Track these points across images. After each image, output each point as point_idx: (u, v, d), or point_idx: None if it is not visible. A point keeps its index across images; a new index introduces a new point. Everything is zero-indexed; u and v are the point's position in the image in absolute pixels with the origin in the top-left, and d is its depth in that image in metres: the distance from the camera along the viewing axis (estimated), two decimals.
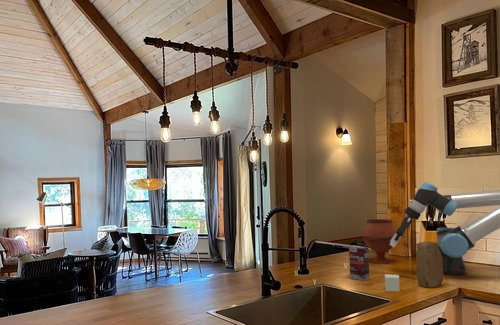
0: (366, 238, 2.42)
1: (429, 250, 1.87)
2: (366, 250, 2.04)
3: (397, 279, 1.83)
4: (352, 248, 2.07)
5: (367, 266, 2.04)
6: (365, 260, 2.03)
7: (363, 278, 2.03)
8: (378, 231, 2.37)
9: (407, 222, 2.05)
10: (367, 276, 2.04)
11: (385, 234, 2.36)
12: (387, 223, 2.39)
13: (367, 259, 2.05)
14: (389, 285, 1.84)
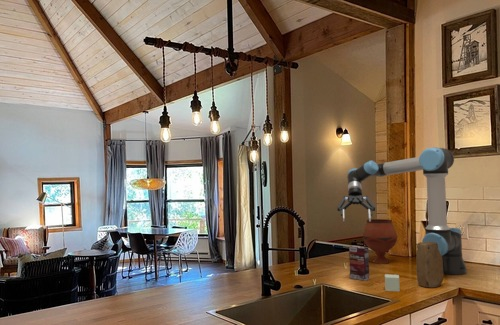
0: (366, 238, 2.42)
1: (429, 250, 1.87)
2: (366, 250, 2.04)
3: (397, 279, 1.83)
4: (352, 248, 2.07)
5: (367, 266, 2.04)
6: (365, 260, 2.03)
7: (363, 278, 2.03)
8: (378, 231, 2.37)
9: None
10: (367, 276, 2.04)
11: (385, 234, 2.36)
12: (387, 223, 2.39)
13: (367, 259, 2.05)
14: (389, 285, 1.84)
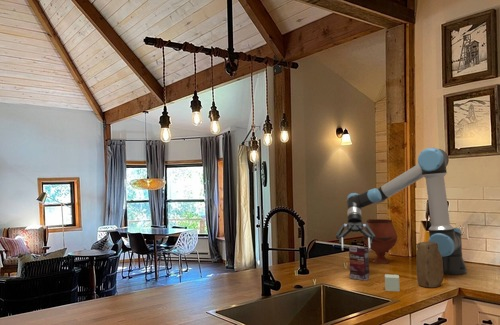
0: (366, 238, 2.42)
1: (429, 250, 1.87)
2: (366, 250, 2.04)
3: (397, 279, 1.83)
4: (352, 248, 2.07)
5: (367, 266, 2.04)
6: (365, 260, 2.03)
7: (363, 278, 2.03)
8: (378, 231, 2.37)
9: None
10: (367, 276, 2.04)
11: (385, 234, 2.36)
12: (387, 223, 2.39)
13: (367, 259, 2.05)
14: (389, 285, 1.84)
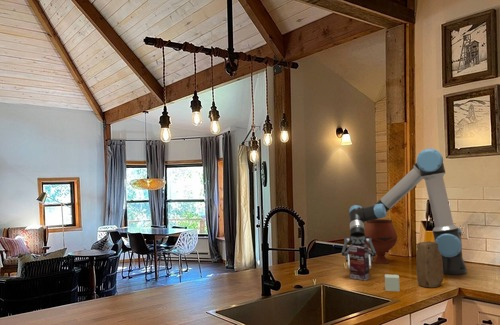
0: (366, 238, 2.42)
1: (429, 250, 1.87)
2: (366, 250, 2.04)
3: (397, 279, 1.83)
4: (352, 248, 2.07)
5: (367, 266, 2.04)
6: (365, 260, 2.03)
7: (363, 278, 2.03)
8: (378, 231, 2.37)
9: None
10: (367, 276, 2.04)
11: (385, 234, 2.36)
12: (387, 223, 2.39)
13: (367, 259, 2.05)
14: (389, 285, 1.84)
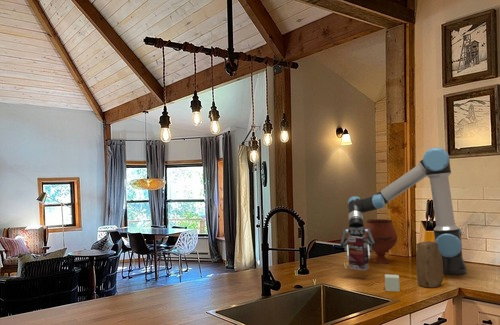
0: None
1: (429, 250, 1.87)
2: (365, 240, 2.05)
3: (397, 279, 1.83)
4: (351, 238, 2.07)
5: (366, 256, 2.05)
6: (364, 250, 2.04)
7: (362, 268, 2.03)
8: (378, 231, 2.37)
9: None
10: (366, 266, 2.05)
11: (385, 234, 2.36)
12: (387, 223, 2.39)
13: (366, 249, 2.05)
14: (389, 285, 1.84)
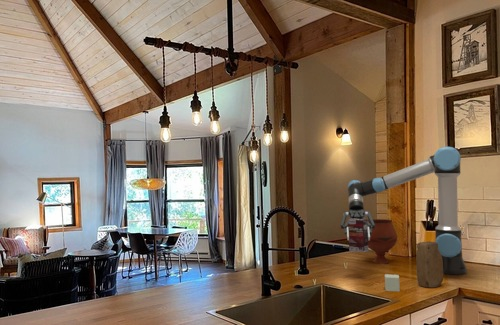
0: None
1: (429, 250, 1.87)
2: (365, 222, 2.05)
3: (397, 279, 1.83)
4: (351, 220, 2.08)
5: (366, 238, 2.05)
6: (364, 232, 2.04)
7: (362, 250, 2.03)
8: (378, 231, 2.37)
9: (343, 216, 2.16)
10: (366, 248, 2.05)
11: (385, 234, 2.36)
12: (387, 223, 2.39)
13: (366, 231, 2.05)
14: (389, 285, 1.84)
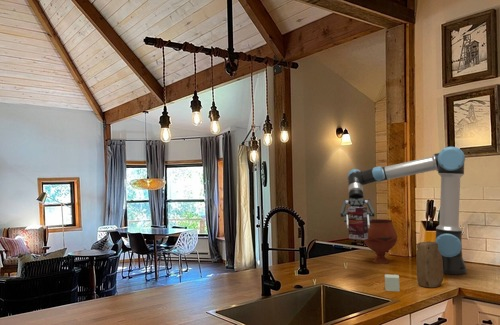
0: None
1: (429, 250, 1.87)
2: (365, 210, 2.05)
3: (397, 279, 1.83)
4: (351, 208, 2.08)
5: (366, 226, 2.05)
6: (364, 219, 2.04)
7: (362, 237, 2.04)
8: (378, 231, 2.37)
9: (343, 204, 2.16)
10: (366, 235, 2.05)
11: (385, 234, 2.36)
12: (387, 223, 2.39)
13: (366, 219, 2.05)
14: (389, 285, 1.84)
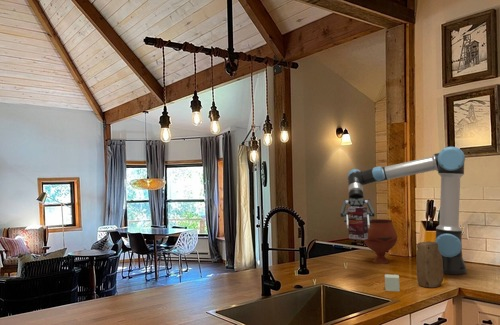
0: None
1: (429, 250, 1.87)
2: (365, 210, 2.05)
3: (397, 279, 1.83)
4: (351, 208, 2.08)
5: (366, 226, 2.05)
6: (364, 219, 2.04)
7: (362, 237, 2.04)
8: (378, 231, 2.37)
9: (343, 204, 2.16)
10: (366, 235, 2.05)
11: (385, 234, 2.36)
12: (387, 223, 2.39)
13: (366, 219, 2.05)
14: (389, 285, 1.84)
